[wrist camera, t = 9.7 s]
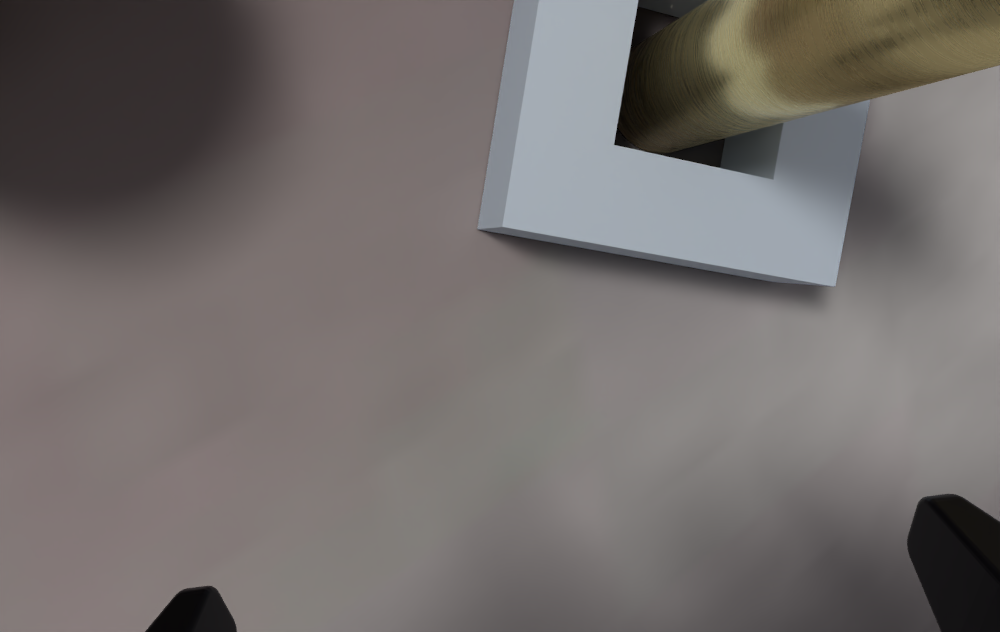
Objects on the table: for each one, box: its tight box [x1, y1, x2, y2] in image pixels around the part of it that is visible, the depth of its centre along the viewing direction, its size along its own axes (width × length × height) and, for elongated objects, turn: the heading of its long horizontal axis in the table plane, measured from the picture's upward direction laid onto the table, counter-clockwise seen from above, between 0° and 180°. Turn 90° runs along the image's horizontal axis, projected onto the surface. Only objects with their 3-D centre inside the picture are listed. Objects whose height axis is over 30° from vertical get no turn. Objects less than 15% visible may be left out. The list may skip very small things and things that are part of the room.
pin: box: [617, 0, 1000, 153], centre depth 16 cm, size 3×3×14 cm
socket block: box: [478, 0, 870, 287], centre depth 21 cm, size 10×10×3 cm
